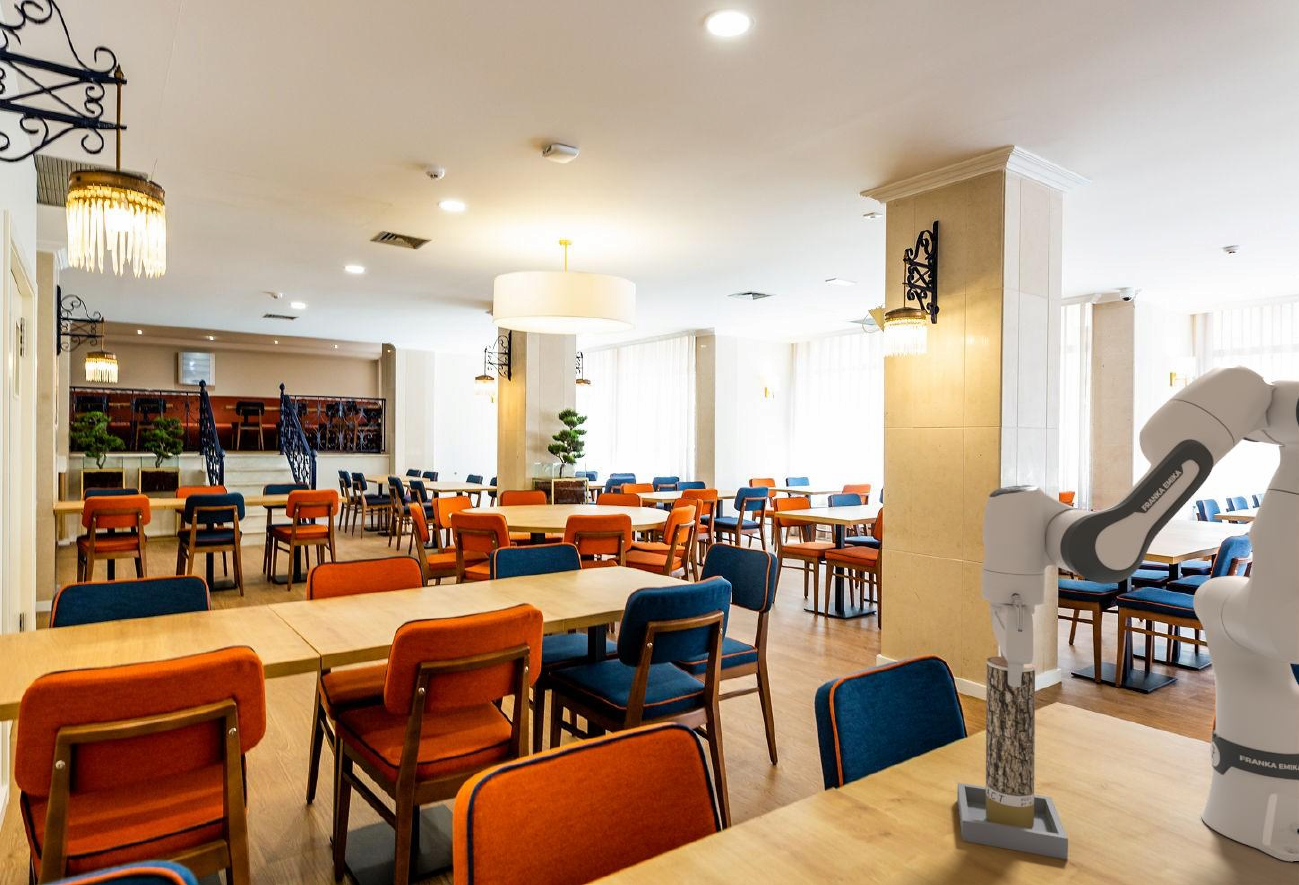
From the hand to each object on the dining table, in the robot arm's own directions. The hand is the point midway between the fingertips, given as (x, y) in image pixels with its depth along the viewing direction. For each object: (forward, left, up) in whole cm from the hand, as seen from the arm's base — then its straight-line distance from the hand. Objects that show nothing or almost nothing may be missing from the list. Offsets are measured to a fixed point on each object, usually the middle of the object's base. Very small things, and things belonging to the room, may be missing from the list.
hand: (1010, 678), depth 117 cm
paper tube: (0, 0, -23) cm, 23 cm away
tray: (0, 0, -23) cm, 23 cm away
